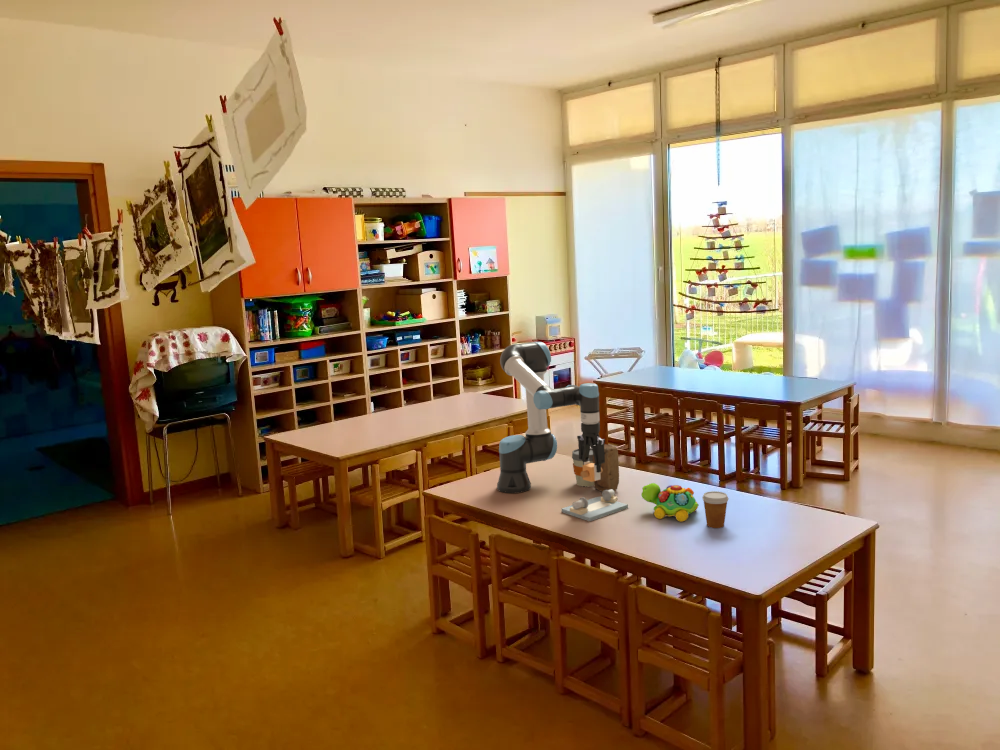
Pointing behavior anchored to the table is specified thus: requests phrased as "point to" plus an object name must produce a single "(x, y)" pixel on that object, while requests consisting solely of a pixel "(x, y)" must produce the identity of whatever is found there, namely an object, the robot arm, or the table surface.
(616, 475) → the block
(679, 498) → the turtle toy
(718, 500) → the disposable coffee cup
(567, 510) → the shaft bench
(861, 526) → the table surface
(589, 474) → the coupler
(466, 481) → the table surface
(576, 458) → the reusable coffee cup
